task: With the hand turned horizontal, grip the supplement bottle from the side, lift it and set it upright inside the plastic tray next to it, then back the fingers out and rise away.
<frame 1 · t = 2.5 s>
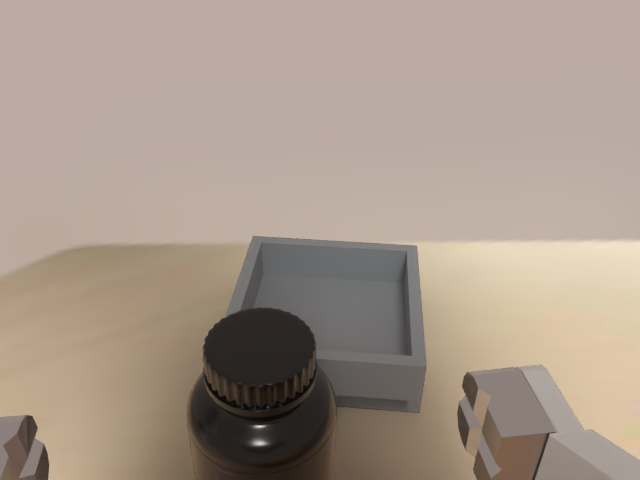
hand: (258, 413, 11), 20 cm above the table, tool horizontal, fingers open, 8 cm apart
tray: (326, 336, 43), on the table
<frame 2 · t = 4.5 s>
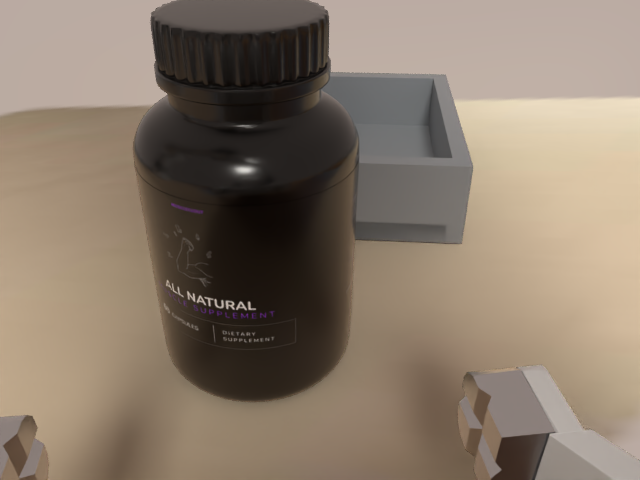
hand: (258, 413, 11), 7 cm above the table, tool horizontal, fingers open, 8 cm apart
tray: (335, 177, 34), on the table
supplement bottle: (262, 344, 23), on the table
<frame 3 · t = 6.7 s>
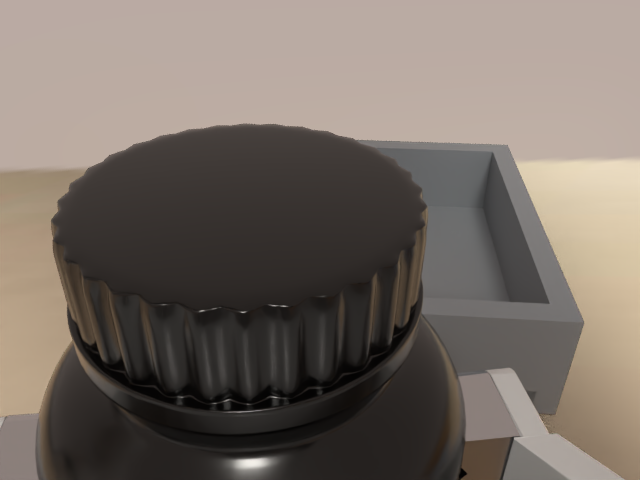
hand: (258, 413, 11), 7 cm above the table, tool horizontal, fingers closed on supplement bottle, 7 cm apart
tray: (367, 287, 25), on the table
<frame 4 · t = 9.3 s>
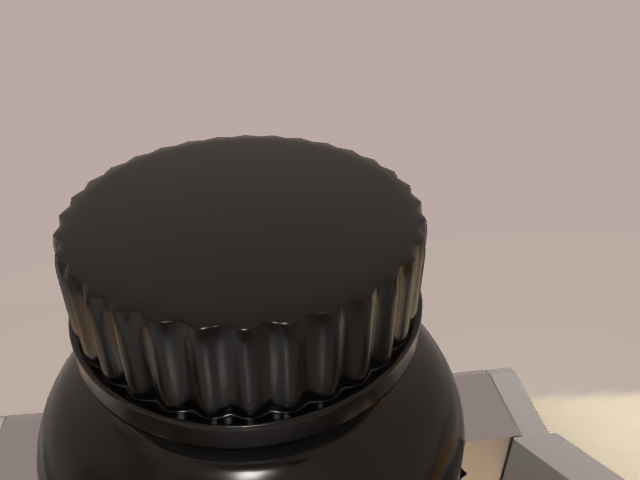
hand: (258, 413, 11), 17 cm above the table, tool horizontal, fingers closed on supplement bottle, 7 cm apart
when the fingers open (9 cm above the table, at t = 12.0 s): supplement bottle drops 1 cm, resting on tray.
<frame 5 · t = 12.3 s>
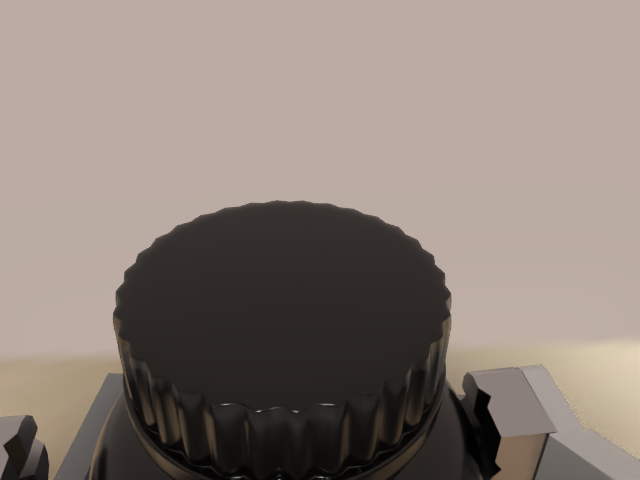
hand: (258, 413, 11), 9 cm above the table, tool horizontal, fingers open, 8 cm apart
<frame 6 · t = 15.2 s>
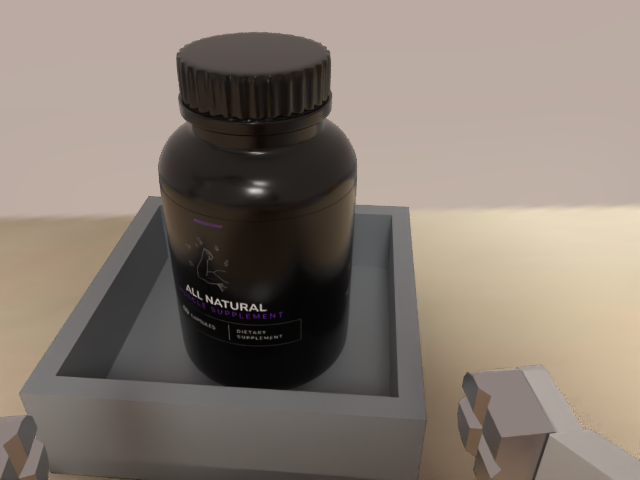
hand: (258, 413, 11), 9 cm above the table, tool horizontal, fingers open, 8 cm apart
tray: (259, 355, 26), on the table
supplement bottle: (268, 341, 25), point 1 cm above the table, touching tray
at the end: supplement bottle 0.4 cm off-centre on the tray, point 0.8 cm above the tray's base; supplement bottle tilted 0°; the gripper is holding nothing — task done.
